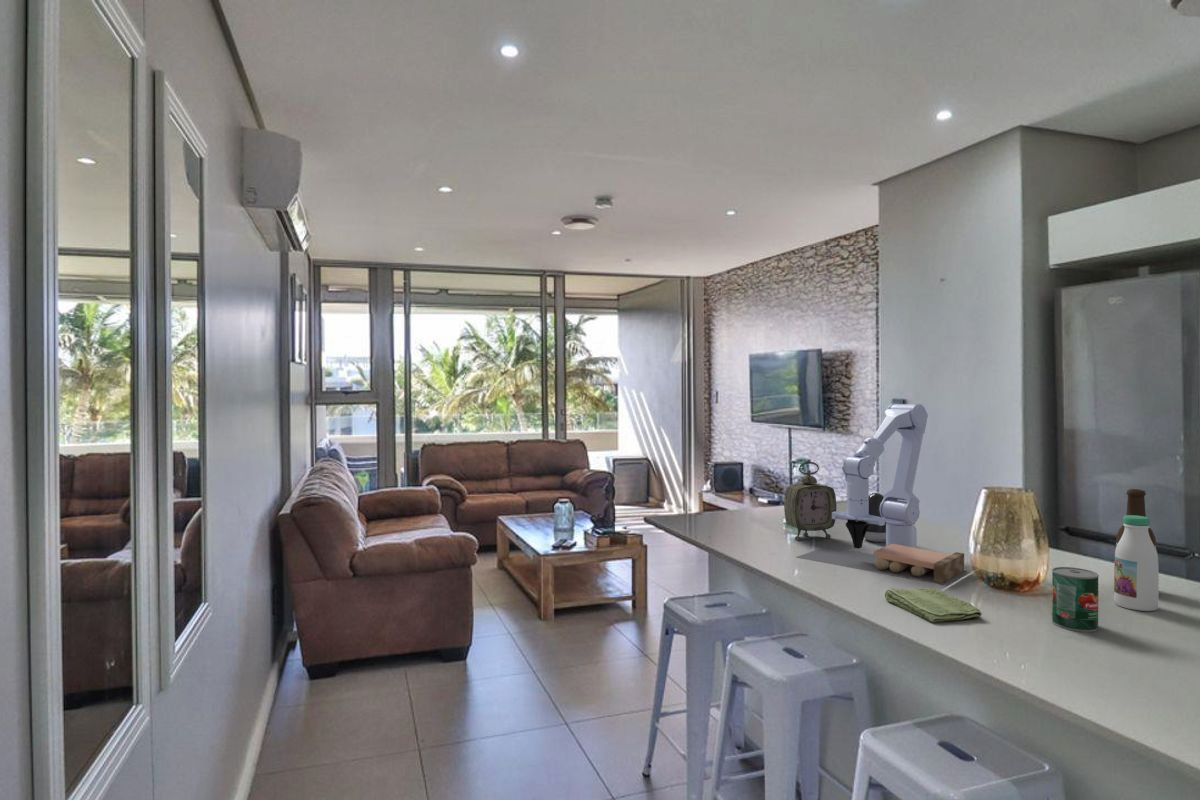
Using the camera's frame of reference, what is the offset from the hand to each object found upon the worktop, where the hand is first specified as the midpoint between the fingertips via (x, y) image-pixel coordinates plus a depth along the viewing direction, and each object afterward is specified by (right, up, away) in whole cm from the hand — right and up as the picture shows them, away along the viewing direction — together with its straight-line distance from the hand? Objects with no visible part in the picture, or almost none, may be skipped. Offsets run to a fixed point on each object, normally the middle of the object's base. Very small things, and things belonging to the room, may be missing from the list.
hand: (857, 547), depth 193 cm
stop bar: (+17, -4, -17) cm, 25 cm away
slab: (+11, -1, -11) cm, 15 cm away
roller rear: (+6, -3, -6) cm, 9 cm away
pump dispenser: (+16, -3, +26) cm, 30 cm away
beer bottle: (+55, -4, -29) cm, 63 cm away
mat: (+4, -4, -4) cm, 7 cm away
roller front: (+10, -1, -10) cm, 14 cm away
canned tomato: (+25, -5, -52) cm, 58 cm away
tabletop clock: (-5, -4, +29) cm, 30 cm away
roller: (+12, -3, -12) cm, 17 cm away
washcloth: (+1, -5, -41) cm, 41 cm away
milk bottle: (+46, -4, -41) cm, 62 cm away
